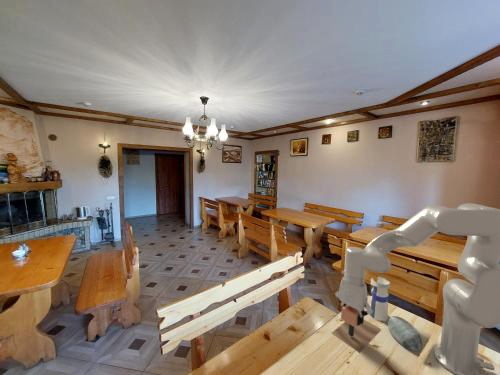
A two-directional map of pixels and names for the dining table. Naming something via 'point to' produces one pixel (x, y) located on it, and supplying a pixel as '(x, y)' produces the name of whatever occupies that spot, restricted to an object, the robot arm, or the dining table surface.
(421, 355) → the dining table surface
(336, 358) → the dining table surface
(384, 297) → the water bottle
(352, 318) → the orange hollow square block
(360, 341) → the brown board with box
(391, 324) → the grey streaked oval part
